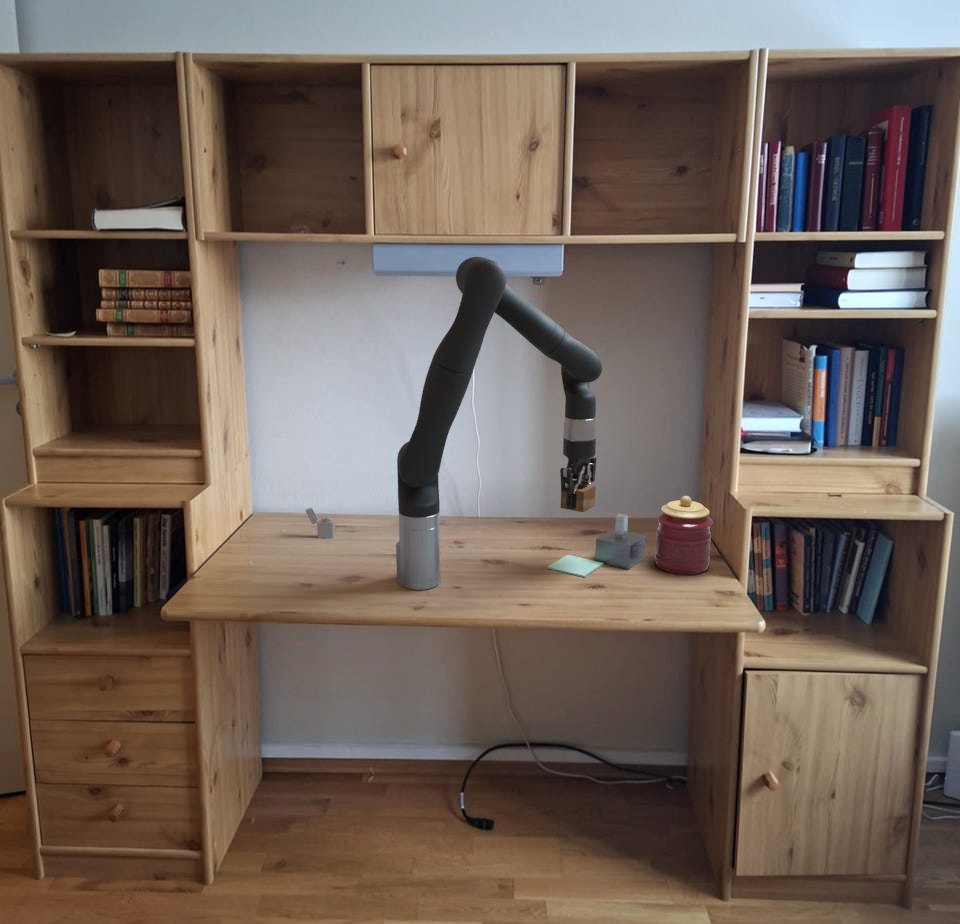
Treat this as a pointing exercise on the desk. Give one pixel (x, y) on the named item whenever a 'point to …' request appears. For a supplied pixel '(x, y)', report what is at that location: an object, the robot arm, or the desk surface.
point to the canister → (683, 537)
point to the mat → (575, 565)
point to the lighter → (321, 525)
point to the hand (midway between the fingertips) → (577, 504)
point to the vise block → (620, 545)
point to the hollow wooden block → (581, 498)
